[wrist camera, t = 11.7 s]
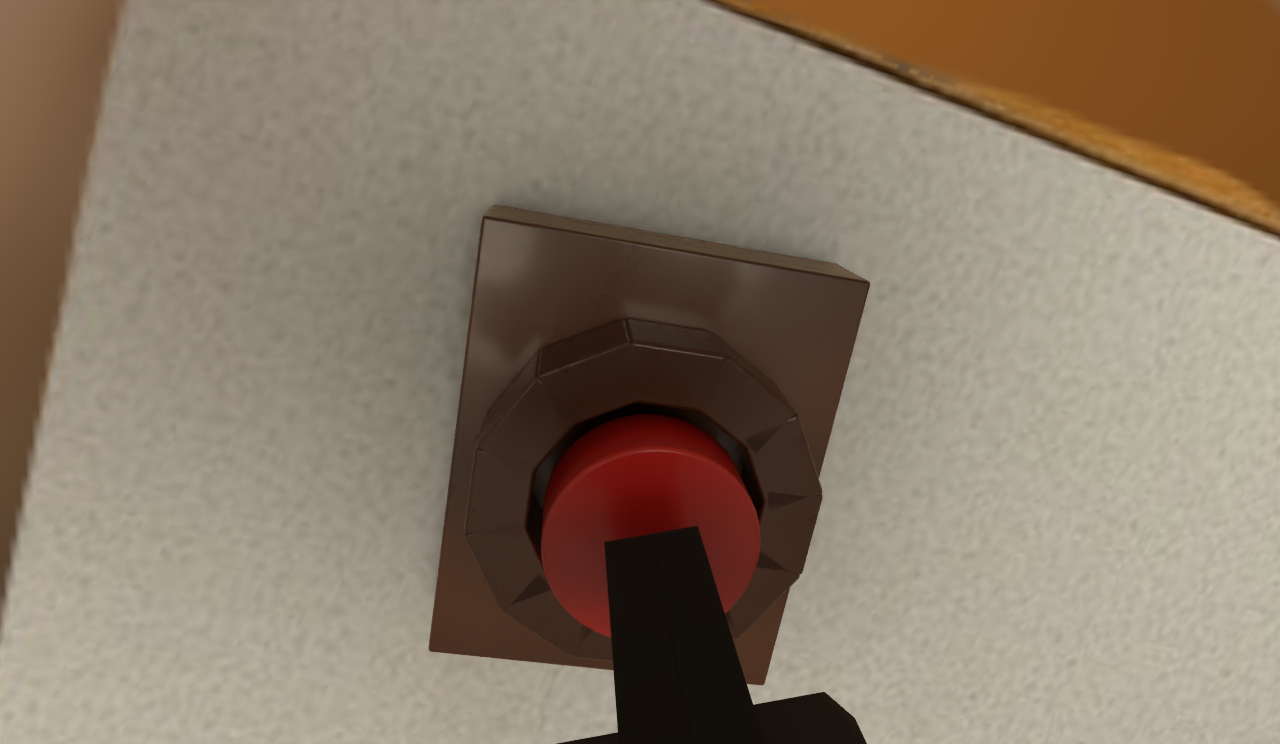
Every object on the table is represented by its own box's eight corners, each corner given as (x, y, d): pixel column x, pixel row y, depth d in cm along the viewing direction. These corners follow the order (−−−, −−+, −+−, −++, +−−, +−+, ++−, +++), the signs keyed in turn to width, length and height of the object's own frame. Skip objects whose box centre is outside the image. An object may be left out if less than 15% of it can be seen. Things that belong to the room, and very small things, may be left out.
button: (560, 398, 15) (558, 432, 14) (761, 427, 16) (784, 463, 14) (530, 581, 17) (526, 633, 15) (720, 603, 17) (736, 655, 15)
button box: (492, 203, 18) (470, 227, 14) (839, 263, 19) (906, 300, 15) (442, 597, 21) (412, 706, 17) (746, 631, 22) (783, 741, 18)
